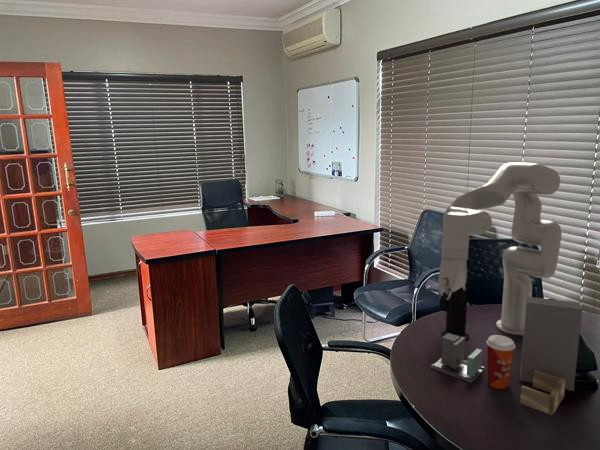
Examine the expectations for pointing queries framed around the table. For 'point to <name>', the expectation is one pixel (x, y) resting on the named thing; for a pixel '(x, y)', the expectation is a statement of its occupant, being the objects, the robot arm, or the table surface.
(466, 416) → the table surface
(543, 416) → the table surface
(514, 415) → the table surface
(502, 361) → the paper cup
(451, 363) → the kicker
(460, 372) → the track
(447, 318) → the handle grip
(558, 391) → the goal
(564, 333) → the cassette tape recorder
